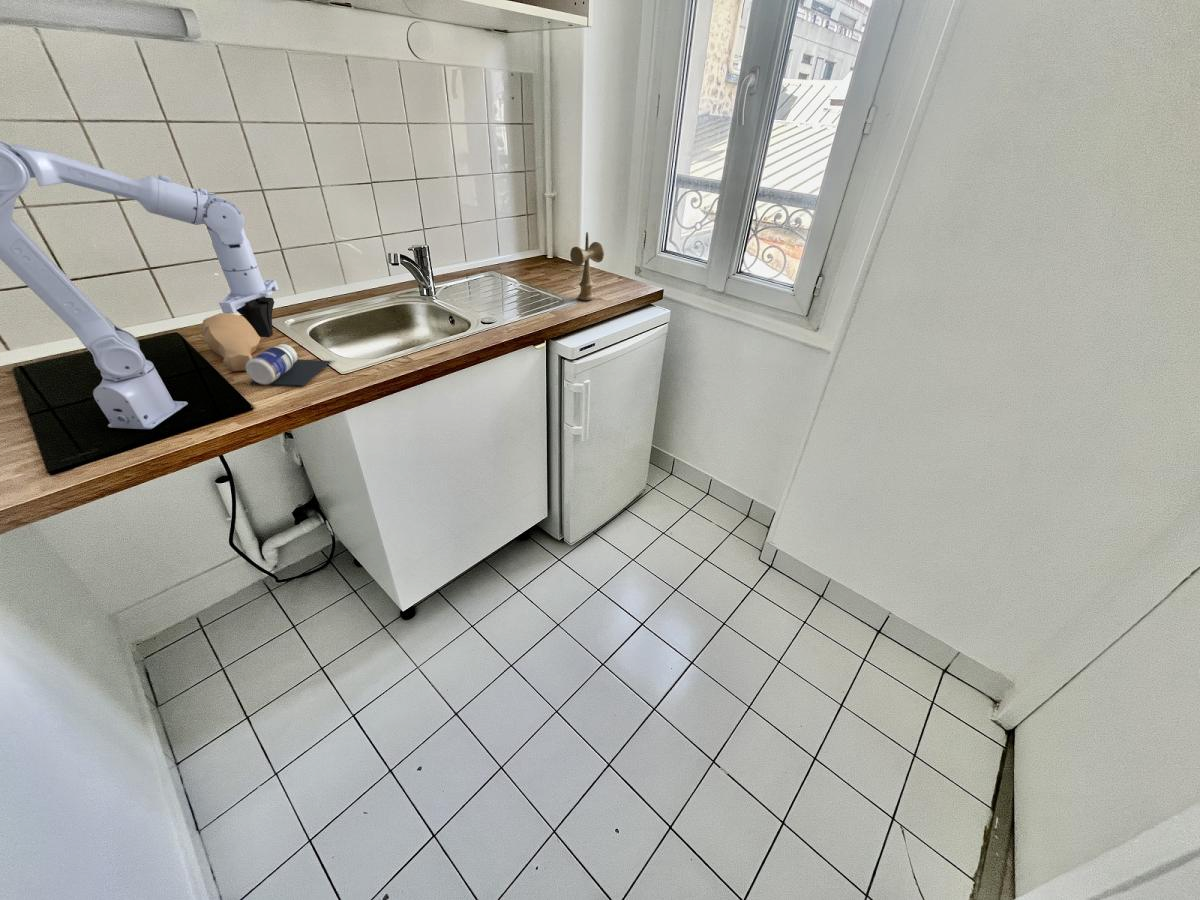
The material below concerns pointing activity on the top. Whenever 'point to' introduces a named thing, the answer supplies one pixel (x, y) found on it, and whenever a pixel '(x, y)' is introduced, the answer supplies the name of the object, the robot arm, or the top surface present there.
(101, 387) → the robot arm
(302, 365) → the mat
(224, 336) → the squash
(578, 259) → the kendama
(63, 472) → the top surface
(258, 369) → the pill bottle
